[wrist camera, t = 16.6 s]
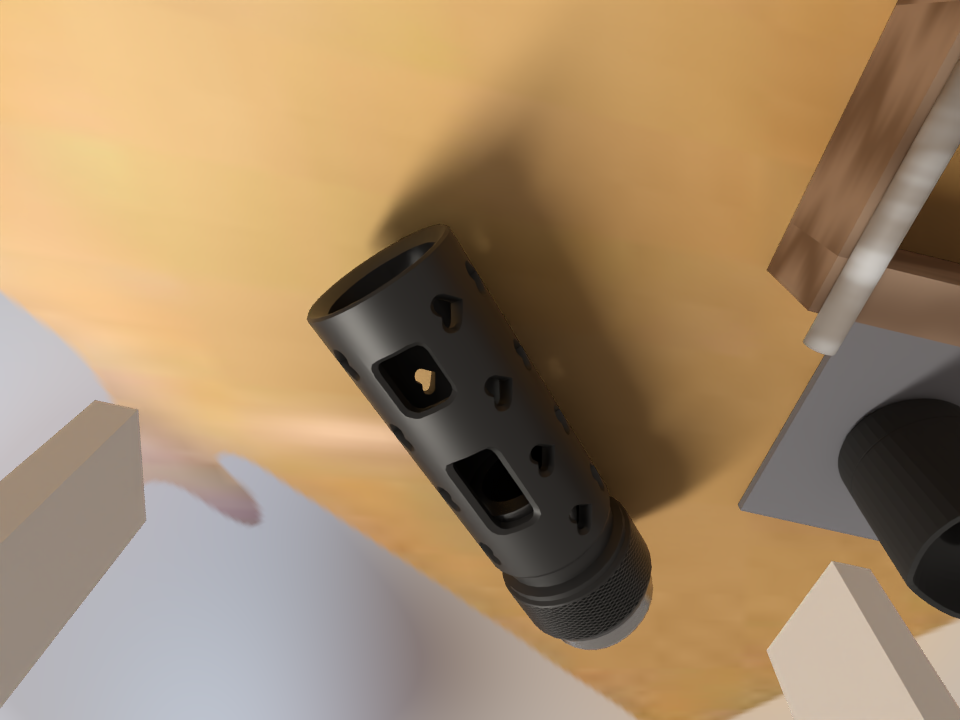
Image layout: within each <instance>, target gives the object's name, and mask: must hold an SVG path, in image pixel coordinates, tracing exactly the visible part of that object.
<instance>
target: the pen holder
mask: <svg viewBox="0 0 960 720" xmlns="http://www.w3.org/2000/svg"><path fill="white" fill-rule="evenodd" d="M838 470H839V474H840V476H841V479H842V481H843V483H844V484H845V486H846V488H847V489H848V491H849V493H850V494H851V496H852V498H853V499H854V501H855V503H856V504H857V506H858V508H859V509H860V511H861V513H862V514H863V516H864V517H865V519H866V521H867V522H868V524H869V525H870V527H871V529H872V530H873V532H874V533H875V535H876V537H877V538H878V540H879V541H880V543H881V544H882V546H883V548H884V549H885V551H886V552H887V554H888V556H889V557H890V559H891V560H892V562H893V564H894V565H895V567H896V568H897V570H898V572H899V573H900V575H901V576H902V578H903V579H904V581H905V583H906V584H907V586H908V587H909V588H910V589H911V590H912V591H913V592H914V593H915V594H916V595H918V596H919V597H920V598H921V599H923V600H924V601H926V602H927V603H928V604H930V605H931V606H933V607H935V608H936V609H938V610H940V611H942V612H944V613H946V614H948V615H950V616H952V617H956V618H959V619H960V406H958V405H955V404H953V403H951V402H948V401H944V400H939V399H929V398H922V399H910V400H903V401H900V402H896V403H893V404H890V405H887V406H884V407H882V408H880V409H878V410H876V411H874V412H873V413H871V414H869V415H868V416H866V417H865V418H864V419H862V420H861V421H860V422H859V423H858V424H857V425H856V426H855V427H854V428H853V429H852V430H851V431H850V433H849V434H848V435H847V437H846V439H845V440H844V442H843V444H842V447H841V449H840V452H839V457H838Z"/></svg>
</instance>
